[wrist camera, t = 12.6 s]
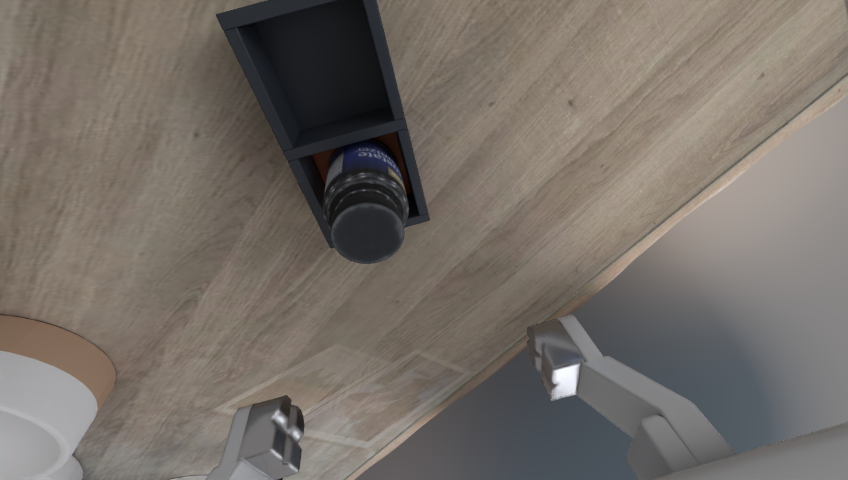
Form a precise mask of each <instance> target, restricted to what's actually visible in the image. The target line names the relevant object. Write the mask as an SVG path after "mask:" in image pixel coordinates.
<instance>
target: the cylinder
mask: <svg viewBox="0 0 848 480" xmlns="http://www.w3.org/2000/svg"><path fill="white" fill-rule="evenodd" d="M207 477H208V476H205V475H199V476H187V477H181V478H175V479H170V480H206V478H207Z"/></svg>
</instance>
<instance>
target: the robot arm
mask: <svg viewBox="0 0 848 480" xmlns="http://www.w3.org/2000/svg"><path fill="white" fill-rule="evenodd" d="M527 335H528V337H529V340H528V341H527V348H528V352H529V355H530V358H531V361H532V363H533V365H534V367H535V369H536V370H538V371H539V372H541V373H542V383H543V385H544V387H545V389H546V391H547V393H548V395H549V397H550V399H551V401H552V400H556V399H559V398H564V397H568V396H572V395H575V394H577V396H578V397H580V398H581V399H582V400H584V401H585V402H586V403H588V404H589V405H590V406H591V407H593V408H594V409H595V410H597V411H598V412H599V413H600V414H602V415H603V416H605V417H606V418H607V419H608V420H609V421H611V422H612V423H614V424H615V425H616V426H617V427H619V428H620V429H621V430H623V431H624V432H625V433H626V434H628V435H629V436H631V437H632V438H633V441H632V444H631V446H630V448H629V451H628V453H627V457H626V460H627V461H628V463H629V465H630V466H631V468H632V470H633V471H634V473H635V475H636V477H637V478H638V480H848V422H846V423H843V424H839V425H835V426H832V427H829V428H825V429H822V430H818V431H815V432H811V433H808V434H805V435H801V436H798V437H794V438H791V439H787V440H784V441H780V442H777V443H773V444H770V445H767V446H763V447H760V448H756V449H753V450H750V451H746V452H743V453H739V454H736V453H735V452H734V451H733V449H732V448H731V447H730V446H729V445H728V443H727V442H726V441H725V440H724V439H723V438H722V436H721V435H720V434H719V433H718V432H717V431H716V429H715V428H714V427H713V426H712V425H711V423H710V422H709V421H708V420H707V419H706V417H705V416H704V415H703V414H702V413H701V412H700V410H699V409H698V408H697V407H696V406H695V405H694V403H692V402H691V401H689V400H687V399H685V398H683V397H682V396H680V395H678V394H676V393H674V392H673V391H671V390H669V389H667V388H665V387H663V386H662V385H660V384H658V383H656V382H655V381H653V380H651V379H649V378H647V377H645V376H643V375H642V374H640V373H638V372H636V371H635V370H633V369H631V368H629V367H628V366H626V365H624V364H622V363H620V362H618V361H617V360H615V359H613V358H611V357H609V356H605V357H603V355H602V354H601V353H600V351H599V350H598V349H597V347H596V346H595V344H594V343H593V341H592V340H591V339H590V337H589V336H588V334H587V333H586V332H585V330H584V329H583V328H582V326H581V325H580V323H579V322H578V320H577V319H576V318H575V317H574V316H573V315H567V316H564V317H560V318H557V319H552V320H549V321H545V322H542V323H539V324H536V325H532V326H529V327H527ZM303 434H304V419H303V414H302V412H301V410H300V409H299V408H298V406H294V405H291V399H290V398H289V397H288V396H287V395H285V396H282V397H278V398H274V399H271V400H267V401H264V402H260V403H256V404H252V405H248V406H245V407H241V408H238V410H237V411H236V413H235V414H234V417H233V421H232V424H231V428H230V431H229V435H228V438H227V442H226V445H225V448H224V452H223V455H222V459H221V462H220V466H218V467H215V468H214V469H213V470H212V472H211V473H210V474H209V476H208V477H207V478H206V480H278V479H281V478H284V477H287V476H290V475H293V474H297V473H299V468H300V460H301V451H302V449H301V448H300V446H299V445H298V443H299V441H300V439H301V438H302V436H303Z"/></svg>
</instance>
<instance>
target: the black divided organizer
mask: <svg viewBox="0 0 848 480" xmlns="http://www.w3.org/2000/svg"><path fill="white" fill-rule="evenodd" d="M216 17H217V19H218V21H219V23H220V25H221V27H222V29H223V30H225V31H224V33H225V35H226V37H227V39H228V41H229V43H230V45H231V47H232V49H233V51H234V53H235V55H236V57H237V59H238V61H239V63H240V65H241V67H242V69H243V71H244V73H245V75H246V77H247V79H248V81H249V83H250V85H251V88H252V90H253V92H254V94H255V96H256V98H257V100H258V102H259V104H260V106H261V108H262V110H263V112H264V114H265V116H266V118H267V120H268V122H269V124H270V126H271V128H272V130H273V132H274V134H275V136H276V138H277V140H278V143H279V145H280V147H281V149H282V150H283V153H284V155H285V157H286V159H287V161H288V163H289V165H290V167H291V169H292V171H293V173H294V175H295V177H296V179H297V182H298V184H299V186H300V188H301V190H302V192H303V194H304V196H305V198H306V200H307V202H308V204H309V206H310V208H311V210H312V212H313V214H314V216H315V218H316V220H317V222H318V224H319V226H320V228H321V230H322V232H323V234H324V236H325V239H326V241H327V242H328V244H329V246H330V248H334V246H333V243H332V241H331V235H330V230H329V228H328V227H327V224H326V223H325V220H324V218H323V210H322V205H323V198H324V192H325V187H326V180H327V174H328V168H329V162H330V159H331V156H332V154H333V153H334V151H335V150H336V148H338V147H342V146H345V145H349V144H353V143H356V142H360V141H364V140H367V139H371V138H374V139H377V140H379V141H381V142H383V143H384V144H386V145H387V146H388V147H389V148H390V149H391V150H392V152H393V154H394V155H395V156H396V159H397V162H398V166H399V170H400V173H401V177H402V181H403V184H404V188H405V191H406V195H407V199H408V203H409V214H408V219H407V221H406V223H405V226H404V228H405V227H408V226H412V225H415V224H419V223H422V222H426V221H429V220H430V218H429V214H428V210H427V206H426V202H425V198H424V193H423V189H422V185H421V181H420V177H419V173H418V169H417V165H416V161H415V157H414V153H413V148H412V144H411V140H410V136H409V132H408V129H407V124H406V120H405V116H404V112H403V108H402V103H401V99H400V95H399V91H398V87H397V83H396V79H395V75H394V71H393V67H392V62H391V58H390V54H389V50H388V46H387V42H386V38H385V34H384V30H383V26H382V21H381V17H380V13H379V9H378V5H377V1H376V0H268V1H264V2H260V3H257V4H253V5H249V6H245V7H242V8H238V9H234V10H230V11H227V12H223V13H219V14H216Z"/></svg>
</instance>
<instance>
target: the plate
mask: <svg viewBox="0 0 848 480" xmlns="http://www.w3.org/2000/svg"><path fill="white" fill-rule="evenodd" d="M82 479H83V469H82V467H81V465H80V463H79V462H78V460H77V459H76V458H75V457H74V456H73V455H71V457H70V458H69V460H68V461H67V462H66V463H65V464H64V465H63V466H62V467H61V468H59V469H58V470H56V471H55V472H53V473H52V474H50V475H47V476H45V477H42V478H40V479H37V480H82Z"/></svg>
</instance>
